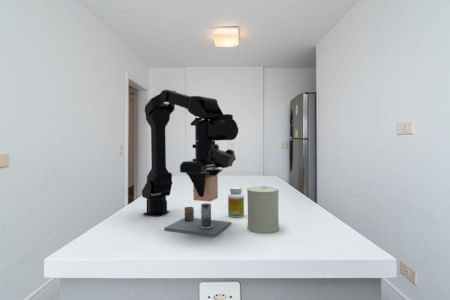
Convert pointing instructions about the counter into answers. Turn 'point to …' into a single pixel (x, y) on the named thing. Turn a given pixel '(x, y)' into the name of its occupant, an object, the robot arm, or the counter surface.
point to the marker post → (206, 216)
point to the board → (194, 227)
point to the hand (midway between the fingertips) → (205, 194)
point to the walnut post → (189, 214)
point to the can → (263, 209)
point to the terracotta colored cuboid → (208, 189)
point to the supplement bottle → (236, 203)
